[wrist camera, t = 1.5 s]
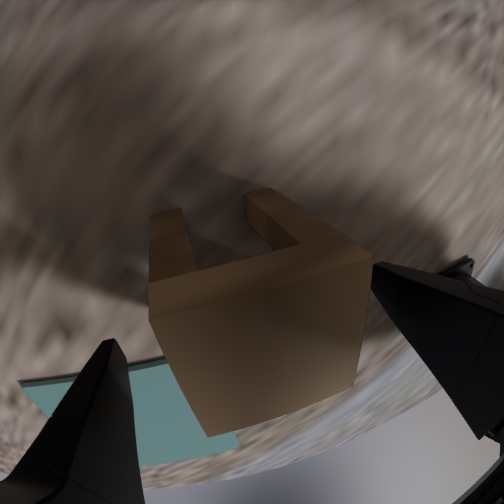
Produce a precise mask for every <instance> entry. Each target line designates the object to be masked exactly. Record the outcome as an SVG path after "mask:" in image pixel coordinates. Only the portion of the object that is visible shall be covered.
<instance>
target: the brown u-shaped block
mask: <svg viewBox="0 0 504 504" xmlns="http://www.w3.org/2000/svg"><path fill="white" fill-rule="evenodd" d="M244 199H245V206H246V213H247V220H248V222H249V223H250V224H251V226H252V227H253V228H254V229H255V230H256V231H257V232H258V233H259V235H260V236H261V237H262V238H263V239H264V240H265V241H266V242H267V244H268V245H269V246H270V247H271V248H272V249H273V250H274V251H272V252H269V253H265V254H261V255H257V256H253V257H249V258H245V259H242V260H238V261H234V262H230V263H226V264H222V265H218V266H215V267H211V268H207V269H203V270H199V271H198V269H197V266H196V262H195V259H194V255H193V252H192V248H191V245H190V241H189V238H188V234H187V230H186V227H185V223H184V219H183V215H182V212H181V208H179V209H175V210H171V211H167V212H163V213H159V214H155V215H151V227H150V247H149V287H148V304H149V322H150V325H151V327H152V329H153V332H154V334H155V336H156V338H157V341H158V343H159V345H160V347H161V350H162V352H163V354H164V356H165V358H166V360H167V362H168V364H169V367H170V369H171V371H172V373H173V375H174V377H175V379H176V381H177V383H178V385H179V387H180V389H181V391H182V392H183V394H184V396H185V398H186V400H187V402H188V404H189V406H190V408H191V409H192V411H193V413H194V415H195V417H196V418H197V420H198V422H199V424H200V425H201V427H202V429H203V431H204V432H205V434H206V436H207V437H208V438H209V437H213V436H217V435H221V434H225V433H228V432H232V431H236V430H239V429H243V428H246V427H249V426H253V425H256V424H259V423H262V422H265V421H268V420H271V419H274V418H277V417H280V416H283V415H285V414H288V413H291V412H294V411H296V410H299V409H301V408H304V407H307V406H309V405H312V404H314V403H316V402H319V401H321V400H324V399H326V398H328V397H331V396H333V395H335V394H337V393H340V392H342V391H344V390H346V389H348V388H350V387H352V386H353V385H354V381H355V376H356V371H357V367H358V362H359V357H360V352H361V346H362V341H363V335H364V329H365V323H366V316H367V310H368V303H369V295H370V287H371V278H372V269H373V259H374V256H373V255H372V254H370V253H369V252H368V251H366V250H365V249H363V248H362V247H360V246H359V245H358V244H356V243H355V242H353V241H352V240H350V239H349V238H347V237H346V236H344V235H343V234H342V233H340V232H339V231H337V230H336V229H334V228H333V227H331V226H330V225H328V224H327V223H325V222H324V221H322V220H321V219H319V218H317V217H316V216H314V215H313V214H311V213H310V212H308V211H307V210H305V209H304V208H302V207H300V206H299V205H297V204H296V203H294V202H293V201H291V200H289V199H288V198H286V197H285V196H283V195H281V194H280V193H278V192H277V191H275V190H273V189H272V188H271V189H266V190H261V191H256V192H251V193H246V194H244Z"/></svg>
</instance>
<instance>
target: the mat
mask: <svg viewBox="0 0 504 504" xmlns="http://www.w3.org/2000/svg"><path fill="white" fill-rule="evenodd" d="M128 372H129V379H130V386H131V392H132V398H133V406H134V420H135V433H136V443H137V452H138V461H139V467H141V466H149V465H156V464H163V463H170V462H175V461H181V460H186V459H191V458H196V457H201V456H206V455H210V454H214V453H218V452H222V451H226V450H230V449H234V448H237V447H240V445H239V443H238V440H237V438H236V436H235V433H234V431H232V432H228V433H225V434H221V435H217V436H213V437H209V438H208V437H207V436H206V434H205V432H204V431H203V429H202V427H201V425H200V424H199V422H198V420H197V418H196V417H195V415H194V413H193V411H192V409H191V408H190V406H189V404H188V402H187V400H186V398H185V396H184V394H183V392H182V391H181V389H180V387H179V385H178V383H177V381H176V379H175V377H174V375H173V373H172V371H171V369H170V367H169V364H168V362H167V360H166V359H162V360H157V361H153V362H148V363H144V364H139V365H134V366H129V367H128ZM76 377H77V376H74V377H67V378H60V379H53V380H45V381H37V382H28V383H23V384H22V387H21V388H22V389H23V390H24V391H25V393H26V394H27V395H28V396H29V397H30V398H31V399H32V401H33V402H34V403H35V404H36V405H37V406H38V407H39V408H40V409H41V410H42V411H43V412H44V413H45V414H46V415H47V416H48V417H49V418H50V416H52V413H53V412H54V410H55V409H56V407H57V406H58V404H59V402H60V401H61V399H62V398H63V396H64V395H65V393H66V392H67V391H68V389H69V388H70V386H71V385H72V383H73V382H74V380H75V379H76Z"/></svg>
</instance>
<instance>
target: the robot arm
mask: <svg viewBox="0 0 504 504" xmlns="http://www.w3.org/2000/svg"><path fill="white" fill-rule="evenodd" d="M474 263H475V261H474V260H473V259H471V258H469V259H467V260H465V261H463V262H462V263H460V264H458V265H456V266H454V267H452V268H450V269H448V270H446V271H444V272H442V273H440V274H438V275H436V274H432V273H428V272H424V271H420V270H416V269H412V268H407V267H403V266H399V265H395V264H391V263H387V262H378V263H376V264H373V269H372V278H371V287H370V288H371V290H372V292H373V293H374V295H375V296H376V298H377V299H378V301H379V302H380V304H381V305H382V307H383V308H384V310H385V311H386V313H387V314H388V316H389V317H390V319H391V320H392V321H393V323H394V324H395V325H396V327H397V328H398V329H399V330H400V332H401V333H402V334H403V335H404V337H405V338H406V339H407V341H408V342H409V343H410V344H411V346H412V347H413V348H414V350H415V351H416V352H417V353H418V355H419V356H420V357H421V359H422V360H423V361H424V363H425V364H426V365H427V367H428V368H429V369H430V371H431V372H432V373H433V375H434V376H435V378H436V379H437V380H438V382H439V383H440V384H441V386H442V387H443V389H444V390H445V391H446V393H447V394H448V396H449V397H450V398H451V399H452V402H453V403H454V404H455V406H456V407H457V409H458V410H459V412H460V413H461V415H462V416H463V418H464V419H465V421H466V422H467V424H468V425H469V427H470V428H471V430H472V431H473V433H474V434H475V436H476V437H477V439H478V440H480V439H481V438H482V437H483V436H484V435H485V436H486V437H488V438H490V439H493V440H494V441H495V442H498V443H500V458H499V459H498V460H497V461H496V462H495V463H494V464H493V466H492V467H491V468H490V469H489V470H488V471H487V472H486V473H485V474H484V475H483V476H482V477H481V478H480V479H479V480H478V481H477V482H476V483H475V484H474V485H473V486H472V487H471V488H470V489H468V490H467V491H466V492H465V493H464V494H463V495H462V496H461V497H460V498H458V499H457V500H456V501H455V502H454V503H452V504H504V290H499V289H494V288H489V287H486V286H484V285H483V284H482V283H480V282H479V281H477V280H476V279H474V278H473V277H471V274H472V271H473V267H474ZM0 504H145V500H144V495H143V489H142V482H141V476H140V469H139V461H138V452H137V443H136V433H135V420H134V406H133V398H132V392H131V386H130V379H129V372H128V365H127V360H126V357H125V355H124V353H123V351H122V350H121V348H120V346H119V344H118V342H117V341H116V340H115V339H114V338H112V339H107V340H104V341H102V342H101V344H100V345H99V346H98V348H97V349H96V351H95V352H94V353H93V355H92V356H91V358H90V359H89V360H88V362H87V363H86V365H85V366H84V367H83V369H82V370H81V372H80V373H79V374H78V376H77V377H76V379H75V380H74V382H73V383H72V385H71V386H70V388H69V389H68V391H67V392H66V393H65V395H64V396H63V398H62V399H61V401H60V402H59V404H58V406H57V407H56V409H55V410H54V412H53V413H52V416H50V418H49V419H48V421H47V422H46V424H45V426H44V427H43V429H42V430H41V432H40V433H39V435H38V436H37V438H36V439H35V440H34V442H33V443H32V445H31V446H30V447H29V449H28V450H27V451H26V453H25V454H24V456H23V457H22V458H21V460H20V461H19V462H18V464H17V465H16V467H15V468H14V469H13V471H12V472H11V473H10V475H9V476H7V477H6V478H5V479H4V480H2V481H0Z"/></svg>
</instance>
